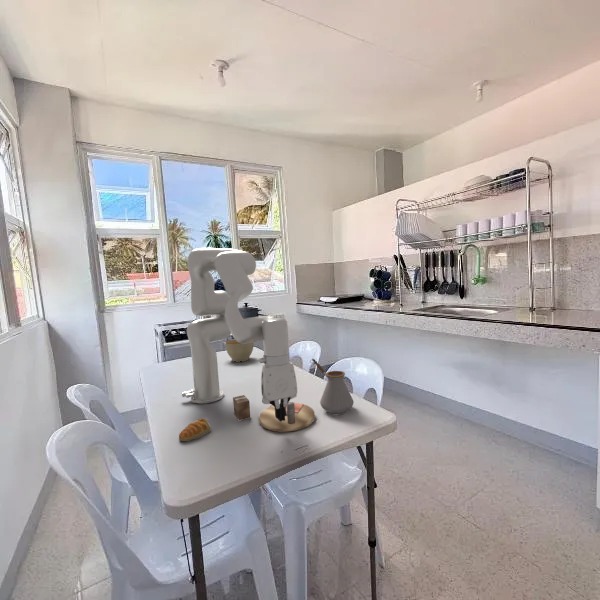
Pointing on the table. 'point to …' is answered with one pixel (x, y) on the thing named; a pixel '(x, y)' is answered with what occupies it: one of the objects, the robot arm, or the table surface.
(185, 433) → the pastry
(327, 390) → the coffee pot
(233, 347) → the planter bowl
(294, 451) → the table surface
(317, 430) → the table surface
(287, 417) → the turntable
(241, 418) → the cardboard box
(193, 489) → the table surface
